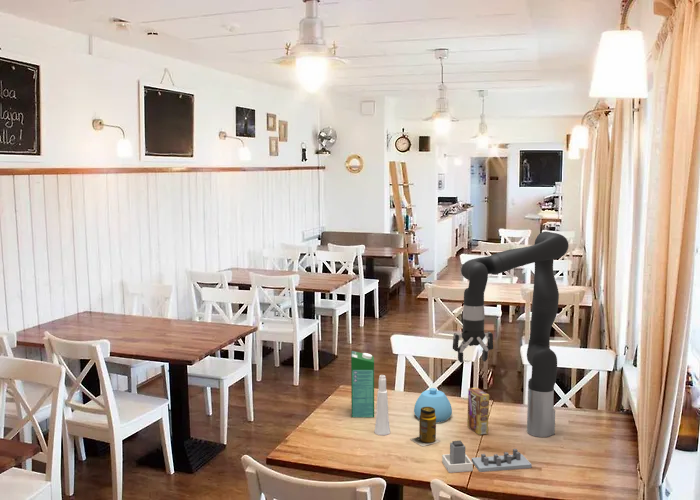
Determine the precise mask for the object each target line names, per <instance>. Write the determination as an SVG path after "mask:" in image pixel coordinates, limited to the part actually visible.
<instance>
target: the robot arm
mask: <svg viewBox="0 0 700 500" xmlns="http://www.w3.org/2000/svg"><path fill="white" fill-rule="evenodd" d="M568 249H569V241H568V239H567V238H566V237H565V236H564V235H562V234H560V233H557V232H551V231H542V232H540V233H539V234H537V236H536V237H535V241H534V244H533V245H529V246H524V247H518V248H510V249H505V250H502V251H499V252H497V253H494V254H491V255H489V256H487V255H486V256H483V257H476V258H473V259H468V260H467V261H465V262H464V263H463V264H462V266H461V267H460V268H461V269H460V273H461V276H463V278H464V279H466V280H468V281H469V282H468V287H466V288H465V289H464V291H463V306H462V307H463V308H462V332H461V333H456V332H455V333H453V336H452V337H453V339H452V350H453V351H454V352H457V360H458V361H459V363H460V364H463V363H464V351H465V349H467V348H468V346H469V347H473V346H475V347H476V346H480V347H481V348H482V356H481V359H482V362H487V360H488V359H489V351H491V350H493V349H494V334H493V333H492V332H490V331H487V332H485V316H486V315H485V305H484V304H485V291H486V288H487V283H488V280H489V279H488V278H489V275H498V274H502V273H505V272H508V271H510V270H511V271H512V270H513V269H517V268H519V267H520V268H521V267H523V266H527V265H529V264H534V276H533V291H532V301H531V302H532V303H531V317H530V318H531V319H530V334H529V339H528V345H527V349H526V350H527V351H526V358H527V362H528V363H529V365H530V366H531V378H530V379H528V383H527V386H528V387H527V411H526V412H527V414H526V415H527V418H526V433H527V434H529V435H531V436H533V437H537V438H546V437H547V438H548V437H551V436H554V435H555V431H556V430H555V427H556V410H555V408H554V399H555V398H554V397H555V395H554V394H555V393H554V391H555V384H556V382H557V374H558V371H557V370H558V356H557V354H556V352H554V351H553V350H552V349H551V347H550V336H551V329H552V327H553V325H554V322H555V320H556V317H557V315H558V311H559V300H560V299H559V298H560V293H559V288H558V284H557V280H556V278H555V273H554V260H556V259H561V258H562V257H563V256H565V255H566V254H567V252H568V251H569V250H568ZM485 338H486V339H487V345H486V344H485V342H484V341H483V340H484V339H485ZM461 339H462V340H461ZM460 340H461V342H460V345H459V341H460Z"/></svg>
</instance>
